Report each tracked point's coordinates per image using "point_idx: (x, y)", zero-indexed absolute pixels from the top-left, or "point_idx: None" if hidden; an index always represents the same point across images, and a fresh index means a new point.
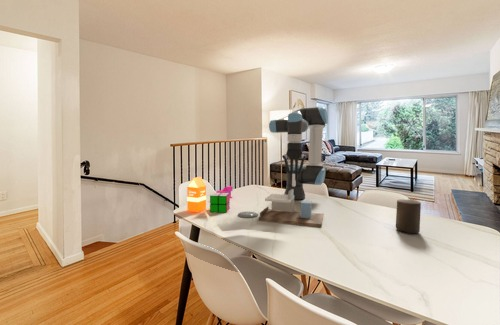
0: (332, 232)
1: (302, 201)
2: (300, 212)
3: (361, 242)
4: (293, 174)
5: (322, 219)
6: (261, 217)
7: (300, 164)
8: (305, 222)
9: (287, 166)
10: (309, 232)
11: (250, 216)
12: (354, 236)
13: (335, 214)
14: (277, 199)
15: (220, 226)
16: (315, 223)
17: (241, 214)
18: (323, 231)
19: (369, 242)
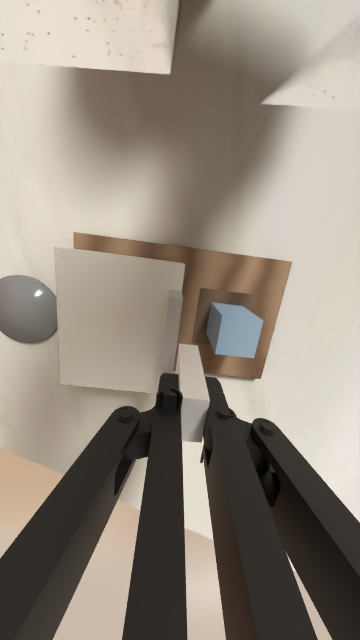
0: (276, 402)
1: (222, 329)
2: (207, 259)
3: (318, 442)
4: (186, 439)
5: (273, 326)
6: None
7: (319, 613)
8: (217, 373)
9: (92, 539)
10: None
11: (43, 337)
12: (318, 415)
13: (343, 214)
14: (115, 385)
15: (4, 423)
16: (244, 375)
17: (4, 321)
18: (256, 401)
19: (335, 439)
